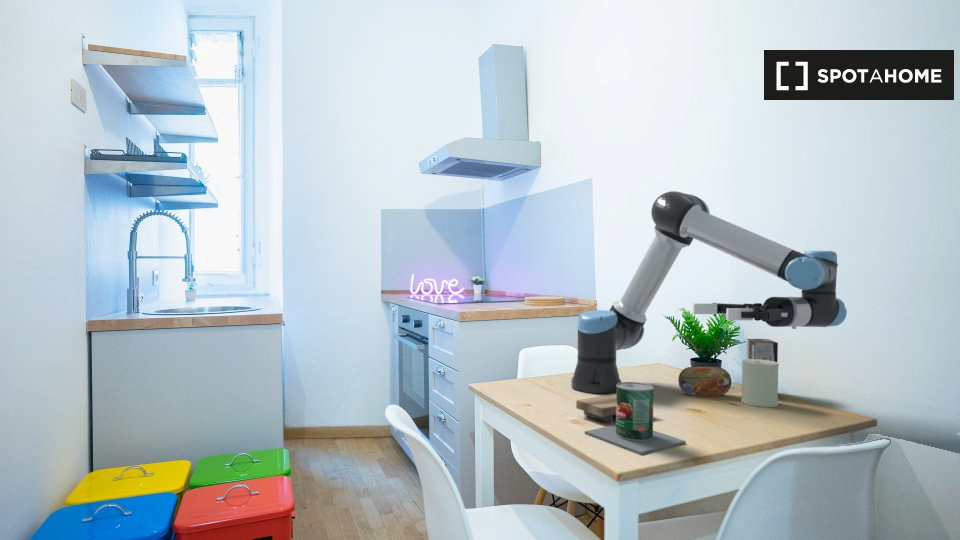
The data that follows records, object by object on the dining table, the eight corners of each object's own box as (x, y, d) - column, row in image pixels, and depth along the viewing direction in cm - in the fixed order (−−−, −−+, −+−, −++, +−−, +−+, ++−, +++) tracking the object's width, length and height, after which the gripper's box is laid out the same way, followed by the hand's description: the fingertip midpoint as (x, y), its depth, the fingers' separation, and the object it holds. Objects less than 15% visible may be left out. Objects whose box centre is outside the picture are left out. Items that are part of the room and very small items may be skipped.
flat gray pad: (584, 433, 124) (584, 431, 124) (628, 424, 131) (628, 422, 131) (640, 454, 110) (640, 452, 110) (685, 443, 118) (685, 440, 118)
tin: (680, 396, 161) (681, 367, 161) (676, 393, 164) (677, 365, 164) (731, 396, 161) (732, 367, 161) (726, 393, 165) (727, 365, 164)
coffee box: (777, 398, 160) (778, 342, 159) (753, 397, 161) (754, 341, 161) (767, 391, 169) (768, 338, 168) (745, 390, 170) (746, 337, 170)
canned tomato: (660, 437, 120) (661, 387, 120) (637, 444, 115) (637, 391, 115) (631, 428, 126) (632, 380, 126) (607, 434, 122) (608, 384, 122)
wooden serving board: (576, 416, 138) (576, 400, 138) (621, 407, 146) (621, 392, 146) (602, 425, 130) (602, 408, 130) (648, 416, 139) (648, 400, 139)
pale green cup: (736, 403, 154) (737, 359, 153) (747, 397, 160) (748, 356, 160) (772, 409, 147) (773, 364, 147) (782, 403, 154) (783, 360, 154)
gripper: (824, 333, 127) (742, 333, 123) (750, 320, 152) (680, 320, 147) (825, 301, 127) (744, 300, 123) (751, 293, 152) (681, 292, 147)
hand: (709, 311), depth 135 cm, fingers open, 13 cm apart
